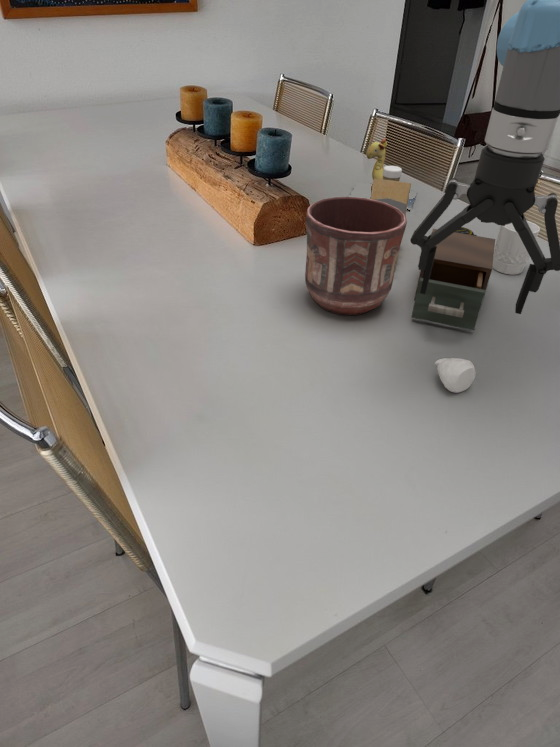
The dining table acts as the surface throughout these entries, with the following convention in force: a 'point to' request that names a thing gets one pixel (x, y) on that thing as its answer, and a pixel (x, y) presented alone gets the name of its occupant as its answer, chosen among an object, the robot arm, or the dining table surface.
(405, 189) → the sandwich container
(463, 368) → the garlic bulb
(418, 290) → the drawer
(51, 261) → the dining table surface
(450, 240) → the cabinet
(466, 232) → the tape measure
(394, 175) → the sprinkles bottle
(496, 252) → the white cup
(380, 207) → the pottery
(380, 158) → the stuffed giraffe
